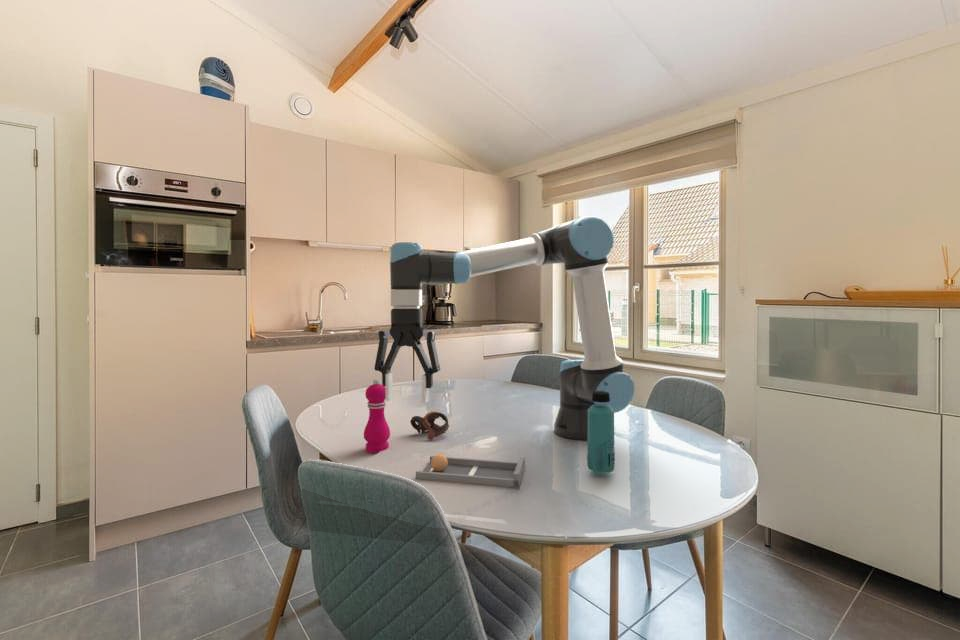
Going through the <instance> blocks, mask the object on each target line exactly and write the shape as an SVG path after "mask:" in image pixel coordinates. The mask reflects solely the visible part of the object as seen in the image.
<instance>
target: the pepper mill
mask: <svg viewBox="0 0 960 640" xmlns="http://www.w3.org/2000/svg"><path fill="white" fill-rule="evenodd" d="M380 381H381V380H380V379H379V378H374V379H373V381H372V382H373V384H370V385H369V386H368V387H366V390H365V394H364V395H365V399H367V401H368V402H367V408H368V410H369V414H368V421H367V422H366V425H365V427H364V430H363V431H364V432H363V439H364V440H365V441H366V444H365V452H367V453H369V454H379V453H380V452H383V451H386V450H388V449H389V441H388V440H389V438H390V436H391V430H390V426H389V424H388V423H387V420H386V418H385V407H386V406H387V404H386V402H387V401H386V386H383V385H382V383H381V384H380Z"/></svg>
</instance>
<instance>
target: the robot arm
mask: <svg viewBox="0 0 960 640" xmlns="http://www.w3.org/2000/svg"><path fill="white" fill-rule="evenodd" d="M614 239H615V238H614V233H613V231H612V229H611V227H610V226H609V224H608V223H607V222H606V221H604V220H603V219H602V218H600V217H598V216H595V215H589V216H588V215H587V216H581V217H577V218H575V219H572V220H570V221H566V222H563V223H559V224H557V225H555V226H553V227H550V228H548V229H545V230H542V231H538V232H535V233H532V234H530V235H529V237H526V238H521V239H518V240H513V241H508V242H502V243H497V244H493V245H486V246H483V247H478V248H473V249H468V250H462V251H457V252H427V251H424V250H423V246H422V244H421V243H418V242H408V241H407V242H406V241H404V242H403V241H402V242H400V241H399V242H395V243H393V244H392V245H391V247H390V261H389V267H390V268H389V270H390V272H389V273H390V306H391V307H393V308H391V310H390V325H391V326H390V329H389V330H386V329H383V330H379V331H378V341H379V342H378V348H377V352H376V357H375V363H374V370H375V372H376V371H377V372H380V373H381V379H382V381H381V385H383V386H385V387H386V399H385V401H386V402H389V401H391V400H393V399H394V372H393V371H392V372H391V370H392V366H393V365H394V362H395V359H396V358H397V355H398V354H399V351H400V349H401V348H402V347H405V346H406V347H408V348H409V347H410V348H411V349H413V351H414V352H415V354H416V356H417V359H418V361H419V362H420V365H421V367H422V369H423V371H424V374H423V375H421V377H422V378H421V379H422V381H421V385H422V386H421V387H422V388H421V389H422V391H421V394H422V395H421V396H422V399H421V401H422V403H423V404H425V403H427V402H429V401H430V389H431V388H432V387H433V378H434V377H433V376H434V374H436V373H438V372H439V371H441V366H440V361H439V355H438V352H437V346H436V342H435V340H436V332H435V331H434V330H430V331H428V330H425V329H424V326H423V309H422V308H420V307H422V306H423V284H426V285H429V286H437V285H445V284H446V285H447V284H455V285H458V284H467V283H468V282H469V281H470V279H471V278H473V277H477V276H482V275H486V274H491V273H495V272H500V271H504V270H510V269H514V268H518V267H522V266H523V267H524V266H528V265H532V264H534V265H535V266H537V267H539V266H543V265H553V264H564V270H565V272H566V273H567V274H568V275H570V276H571V277H572V279H571V280H572V284H573V290H574V299H575V303H576V309H577V310H576V311H577V316H578V324H579V331H580V337H581V343H582V350H583V356H584V359H568V360H563V361H562V362H560V366H559V367H560V368H559V409H558V412H557V416H556V418H555V421H554V424H553V426H554V427H553V432H554V433H555V434H556V435H558V436H560V437H562V438H563V437H564V438H567V439H572V440H587V436H588V409H589V408H590V407H591V406H592V405H595V404H603V405H608V406H610V407H611V408H612V409H613V410H614V412H615V413H620V412H621V411H623V410H625V409H626V408H627V407H628V406H629V404H630V402H632V401H633V399H634V395H635V391H636V390H635V388H636V387H635V382H634V380H633V378H632V377H631V376H630V375H629V374H628V373H626V372H625V369H624V364H623V363H624V362H623V360H622V358H620V357H619V356H617V354H616V353H617V352H616V348H615V347H616V345H615V340H614V333H613V327H612V326H613V325H612V320H611V313H610V306H609V297H608V292H607V291H608V290H607V284H606V280H605V279H606V278H605V273H604V271H605V269H606V268H607V267H608V265H609V260H608V259H609V258H608V256H609V254H610V253H611V251H612V248H614V243H615V242H614ZM390 336H391V338H392V339H393V342H392V343H391V347H390V349H389V352H388V355H387V357H386V354H387V349H388V345H389V343H388V342H389V339H390ZM423 336H424V340H426V346H427V351H428V355H429V358H428V357H427V354H426V352H425V350H424V347H423V344H422V342H421V338H423ZM385 358H386V360H385ZM595 391H605V392H608V393H609V396H610V402H595V401H592V395H593V392H595ZM615 413H614V414H615Z"/></svg>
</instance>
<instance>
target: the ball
mask: <svg viewBox="0 0 960 640" xmlns="http://www.w3.org/2000/svg"><path fill="white" fill-rule="evenodd" d="M433 456H434V457H433V458H432V460H431V466H432V468H433V469H434V470H435V471H443V470H444V469H445V468H446V467H447V464H448V461H447V458H446V457H447V456H445V455H444V454H441V453H438V454H435V455H433Z"/></svg>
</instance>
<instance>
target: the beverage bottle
mask: <svg viewBox="0 0 960 640" xmlns="http://www.w3.org/2000/svg"><path fill="white" fill-rule="evenodd" d="M592 401H595V402H610V396H609V393H608V392H605V391H595V392H593V395H592ZM615 434H616V432H615V412H614V410H613V409H612V408H611V407H610V406H608V405H603V404H595V405H592V406H591V407H590V408H589V409H588V436H587V439H586V440H587V441H586V461H587V462H586V464H587V468H588V469H589V471H591V472H594V473H599V474H608V473H609V474H610V473H612V472H614V469H615V464H616V463H615V460H616V458H615V457H616V455H615V449H616V448H615Z"/></svg>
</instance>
